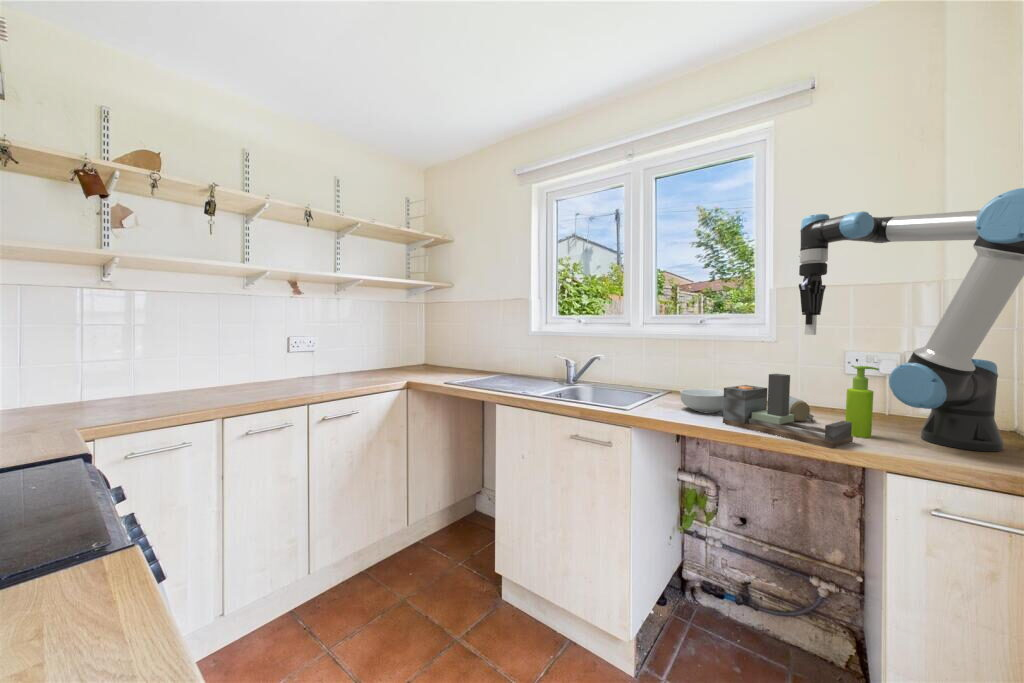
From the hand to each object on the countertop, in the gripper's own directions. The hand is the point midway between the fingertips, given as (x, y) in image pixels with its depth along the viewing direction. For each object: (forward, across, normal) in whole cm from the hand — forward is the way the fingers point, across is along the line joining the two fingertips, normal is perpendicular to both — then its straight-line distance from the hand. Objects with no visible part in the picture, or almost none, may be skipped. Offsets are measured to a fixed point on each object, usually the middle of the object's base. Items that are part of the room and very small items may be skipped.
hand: (810, 334), depth 140 cm
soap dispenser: (+29, +9, +18) cm, 35 cm away
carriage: (+26, +25, +2) cm, 36 cm away
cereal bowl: (+29, +19, -25) cm, 43 cm away
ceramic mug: (+29, +4, -2) cm, 29 cm away
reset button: (+20, +25, -7) cm, 32 cm away
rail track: (+28, +25, +5) cm, 38 cm away
